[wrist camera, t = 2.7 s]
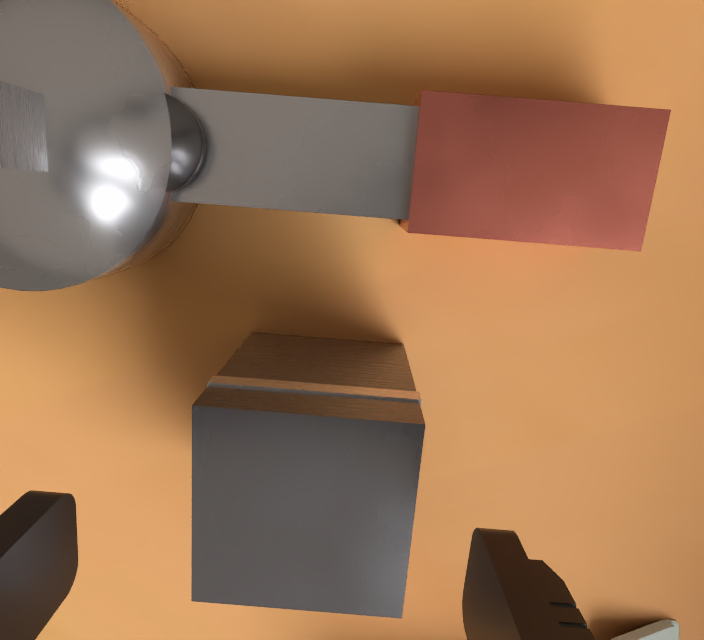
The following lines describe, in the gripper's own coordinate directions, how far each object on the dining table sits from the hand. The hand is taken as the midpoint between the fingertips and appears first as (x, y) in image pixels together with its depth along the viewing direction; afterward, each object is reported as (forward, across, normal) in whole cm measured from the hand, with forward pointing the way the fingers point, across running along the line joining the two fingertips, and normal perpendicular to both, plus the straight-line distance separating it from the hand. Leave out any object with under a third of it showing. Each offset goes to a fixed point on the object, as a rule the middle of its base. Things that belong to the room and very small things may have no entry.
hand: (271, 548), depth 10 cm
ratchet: (+7, +2, -8) cm, 11 cm away
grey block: (+7, -1, 0) cm, 7 cm away
